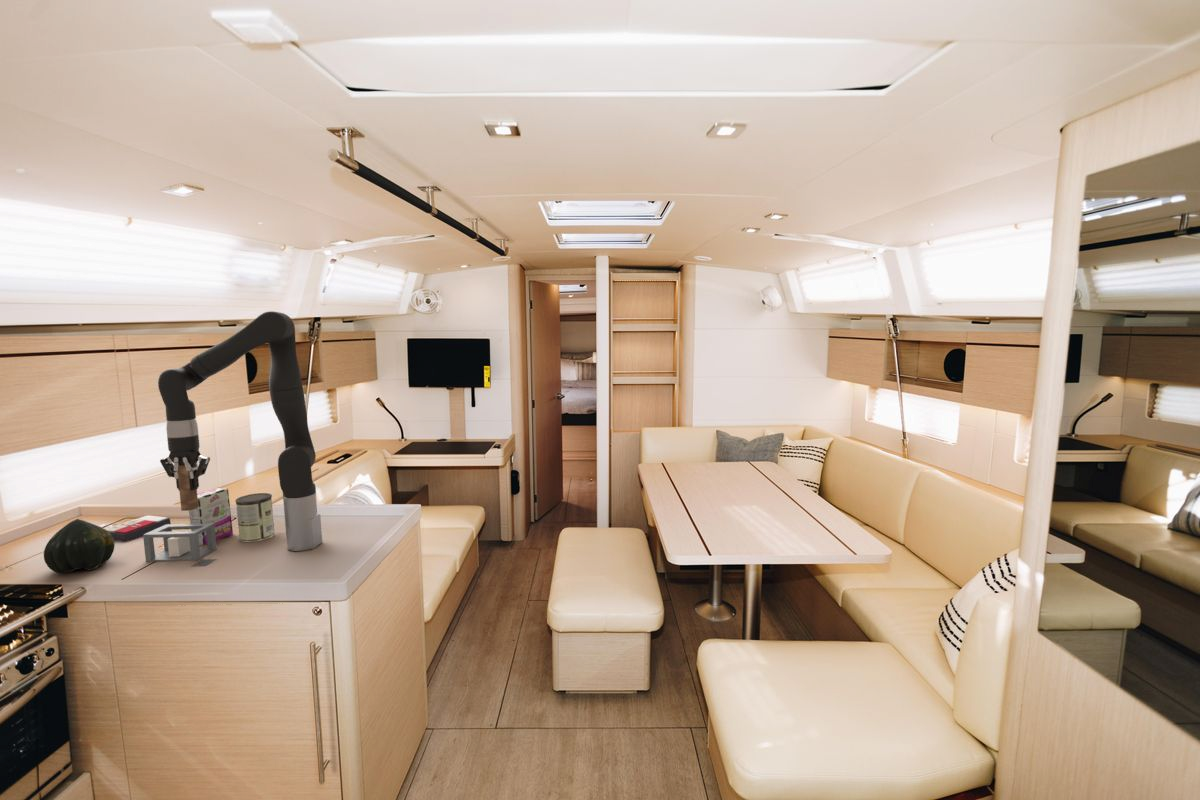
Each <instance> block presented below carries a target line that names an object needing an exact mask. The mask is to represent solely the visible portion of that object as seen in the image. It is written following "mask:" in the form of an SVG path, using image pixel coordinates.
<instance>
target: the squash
mask: <svg viewBox="0 0 1200 800" xmlns="http://www.w3.org/2000/svg"><path fill="white" fill-rule="evenodd" d="M105 529H106V528H103V527H101V526H99V525H97V524H94V523H91V522H88V521H86V520H84V519H83V520H82V519H80V518H76V519H74V520H72V521H70V522H69V523H67V524H66V525H64V526H63V527H62V528H61V529H59V530H58V531H57V532H56V533H54V535H53V536H51V538H50V539H49V540H48V542H47V543H46V545H45V547H44V550H43V560H44V563H45V564H46V566H47V567H48V568H49V570H51V571H53V572H55V573H59V574H65V573H66V574H67V573H71V572H73V571H75V570H81V569H82V568H84V570H90V571H91V570H94V569H96V568H98V567H99V566H100V565H103V564H105V563H106V562H108V561H109V560H110V559H111V557H112V555H113V553H114V551H115V544H116V542H115V541H116V540H114V538H113V536H112V535H111V533H110V532H108V531H107V530H105Z"/></svg>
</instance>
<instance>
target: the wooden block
mask: <svg viewBox="0 0 1200 800" xmlns="http://www.w3.org/2000/svg"><path fill="white" fill-rule="evenodd" d="M193 467H194V466H193ZM193 467H191V468H193ZM190 479H191V478H190V477H189V472H188V471H187V470H186V467H185V465H179V467H178V481H179V490H178V491H179V501H180V510H181V512H182V511H184V512H185V511H188V512H189V511H192V510H194V509H196V508H198V497H197V494H198V489H196V490H191V489H190Z"/></svg>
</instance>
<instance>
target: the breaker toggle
mask: <svg viewBox="0 0 1200 800" xmlns="http://www.w3.org/2000/svg"><path fill="white" fill-rule="evenodd" d="M167 541H168V550H169V557H174V556H181V555H183V554H185V553H186V552H188V551H190V541H189V537H171V538H169V539H167Z"/></svg>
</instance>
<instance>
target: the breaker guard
mask: <svg viewBox="0 0 1200 800" xmlns="http://www.w3.org/2000/svg"><path fill="white" fill-rule="evenodd" d="M191 529H197V530H195V531H191ZM173 530H174V531H173ZM175 530H176V531H175ZM177 530H178V531H177ZM180 530H181V531H180ZM183 530H184V531H183ZM186 530H187V531H186ZM205 531H206V533H207V544H206V545H207V547H200V545H199V537H198V535H199V534H201V533H203V532H205ZM171 537H189V541H190V551H188V552H186V553H185V554H183V555H181V556H174V557H169V550H168V541H167V539H169V538H171ZM142 538H143V539H142V540H143V547H144V557H145V562H148V563H151V562H186V561H187V562H188V561H189V562H190V561H193V562H194V561H198V560H201V558H204V557H206V556H207V555H209V554H211V553H212V552H214V551H216V550H217V549H218V547H217V540H216V535H215V525H214V523H209V524H190V523H176V524H175V523H171V524H166V525H164V526H161V527H159V528H157V529H155V530H152V531H150V532H148V533H146V534H143V536H142ZM154 538H160V539H161V538H163V539H162V540H163V549H164V550H163V551H162V552H160V553H157V554H156V553H155V552H156V551H155V543H154V541H155V540H154Z"/></svg>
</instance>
